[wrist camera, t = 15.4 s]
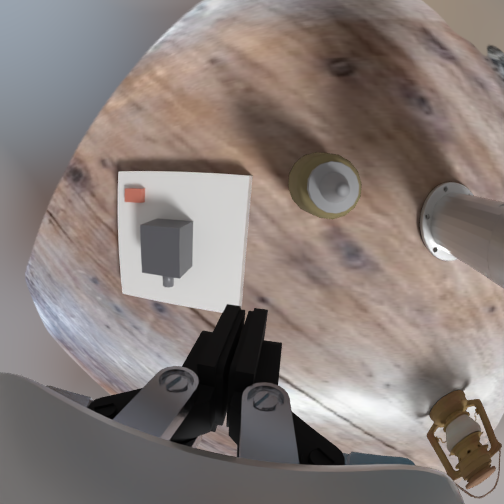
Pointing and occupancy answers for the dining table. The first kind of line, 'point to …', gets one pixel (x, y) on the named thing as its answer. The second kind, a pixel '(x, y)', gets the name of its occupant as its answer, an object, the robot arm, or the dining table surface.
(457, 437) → the lantern
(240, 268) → the socket
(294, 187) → the squeeze bottle
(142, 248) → the plug
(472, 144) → the dining table surface
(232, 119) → the dining table surface
